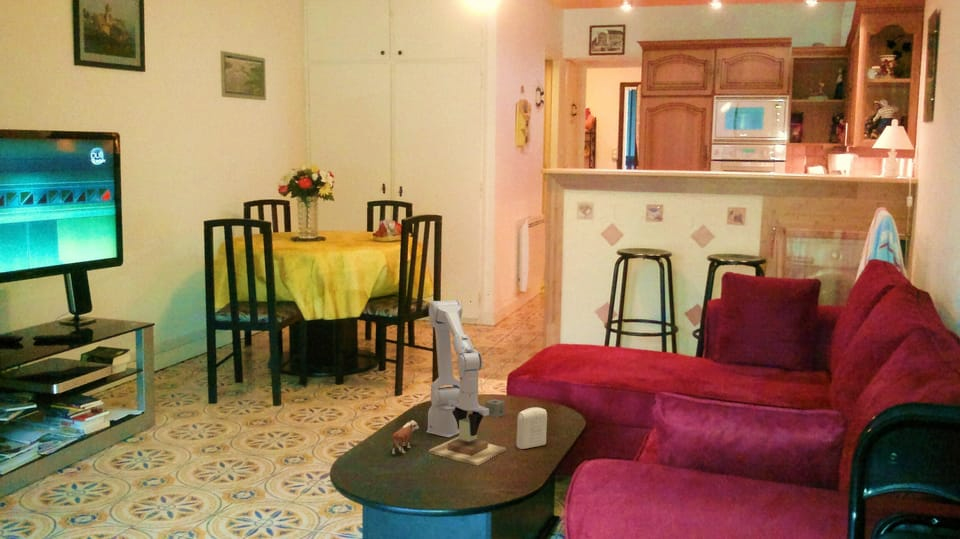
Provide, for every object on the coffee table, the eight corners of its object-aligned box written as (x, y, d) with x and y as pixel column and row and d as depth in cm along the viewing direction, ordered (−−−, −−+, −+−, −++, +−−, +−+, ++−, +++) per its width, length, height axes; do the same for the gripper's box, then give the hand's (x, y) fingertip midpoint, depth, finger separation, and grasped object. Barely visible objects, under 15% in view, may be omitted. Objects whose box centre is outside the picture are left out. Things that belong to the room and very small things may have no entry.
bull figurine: (420, 444, 275) (421, 419, 274) (399, 457, 263) (399, 431, 262) (408, 442, 277) (409, 417, 276) (387, 455, 265) (387, 429, 264)
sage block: (458, 438, 268) (459, 420, 267) (467, 435, 271) (467, 417, 270) (469, 441, 266) (469, 422, 265) (477, 438, 269) (477, 419, 268)
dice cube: (485, 415, 307) (485, 402, 306) (493, 412, 311) (493, 398, 310) (497, 418, 304) (497, 404, 303) (504, 415, 308) (505, 401, 307)
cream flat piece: (428, 453, 267) (428, 443, 267) (458, 439, 280) (458, 430, 280) (477, 465, 257) (477, 455, 257) (505, 450, 271) (506, 441, 270)
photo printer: (540, 441, 280) (541, 404, 279) (548, 445, 277) (549, 407, 275) (514, 446, 275) (515, 408, 273) (522, 450, 271) (523, 412, 270)
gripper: (495, 392, 265) (494, 435, 267) (458, 384, 274) (458, 425, 276) (481, 397, 259) (480, 441, 261) (444, 388, 268) (443, 430, 270)
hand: (467, 433), depth 268 cm, fingers closed on sage block, 4 cm apart
